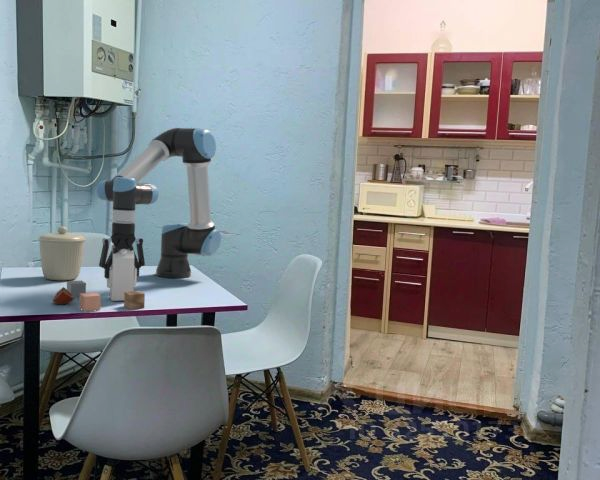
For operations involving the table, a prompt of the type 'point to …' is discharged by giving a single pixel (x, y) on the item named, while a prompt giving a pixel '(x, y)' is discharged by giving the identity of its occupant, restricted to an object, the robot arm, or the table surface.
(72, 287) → the slate grey block
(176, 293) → the table surface
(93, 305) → the terracotta block
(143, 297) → the walnut block
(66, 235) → the canister
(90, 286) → the table surface
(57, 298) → the fruit slice
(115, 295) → the milk carton
